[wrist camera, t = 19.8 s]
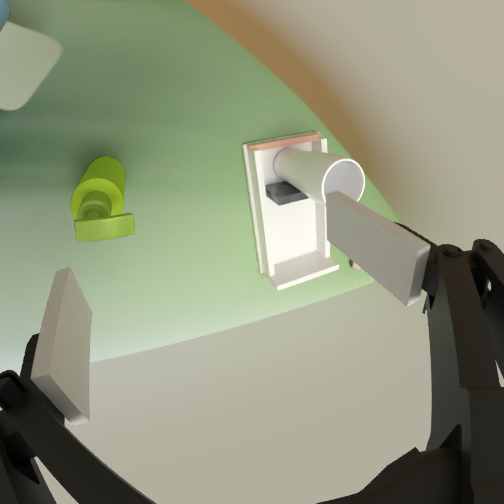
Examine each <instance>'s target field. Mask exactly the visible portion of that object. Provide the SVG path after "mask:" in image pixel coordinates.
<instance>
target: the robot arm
mask: <svg viewBox="0 0 504 504" xmlns="http://www.w3.org/2000/svg"><path fill="white" fill-rule="evenodd" d="M9 15H10V2H9V0H0V31H1V30H2V28H3V26H4V25H5V23H6V21H7V20H8V18H9ZM326 223H327V240H328V241H329V242H330V243H331V244H333V245H334V246H335V247H336V248H338V249H339V250H340V251H341V252H343V253H344V254H345V255H346V256H347V257H349V258H350V259H351V260H352V261H354V262H355V263H356V264H357V265H358V266H360V267H361V268H362V269H363V270H364V271H366V272H367V273H368V274H369V275H370V276H372V277H373V278H374V279H375V280H376V281H378V282H379V283H380V284H381V285H382V286H383V287H385V288H386V289H387V290H388V291H389V292H391V293H392V294H393V295H394V296H395V297H397V299H399V300H400V301H401V302H402V303H403V304H404V305H405V306H407V307H408V306H409V305H411V304H413V303H415V302H417V301H419V299H420V294H421V290H422V289H423V290H424V291H426V292H427V296H426V300H425V304H424V308H423V313H424V314H425V310H426V309H427V316H428V326H429V338H430V354H431V376H432V418H431V434H430V437H429V441H428V443H427V447H426V451H422V452H419V451H418V449H417V448H416V447H415V448H413V449H412V450H411V451H409V452H408V453H406V454H405V455H403V456H402V457H400V458H399V459H397V460H396V461H394V462H392V463H391V464H389V465H388V466H387V467H386V468H384V469H383V471H381V473H379V475H378V476H376V478H374V479H373V480H372V481H371V482H370V483H369V484H368V485H367V486H366V487H365V488H364V489H363V490H361V491H360V492H358V493H356V494H352V495H349V496H345V497H341V498H337V499H333V500H329V501H325V502H321V503H317V504H504V387H501V386H500V383H499V377H498V372H497V366H496V362H497V364H498V367H499V369H500V371H501V374H502V376H503V378H504V254H503V253H502V251H501V250H500V249H499V248H498V247H497V246H496V245H495V244H494V243H492V242H490V241H489V240H486V239H477V240H475V241H474V243H473V247H472V250H470V251H462V250H461V249H460V248H459V247H456V246H454V245H450V244H442V245H440V246H437V245H436V244H434V243H432V242H431V241H429V240H428V239H426V238H424V237H423V236H421V235H418V233H416V232H415V231H412V230H411V229H409V228H408V227H406V226H405V225H402V224H399V223H396V222H392V221H390V220H389V219H387V218H385V217H384V216H382V215H380V214H379V213H377V212H375V211H373V210H372V209H370V208H368V207H366V206H365V205H363V204H361V203H359V202H357V201H356V200H354V199H352V198H350V197H348V196H346V195H345V194H343V193H341V192H339V191H335V192H331V193H327V194H326ZM489 281H490V283H491V290H489V289H488V283H489ZM91 319H92V311H91V309H90V307H89V305H88V303H87V301H86V299H85V297H84V295H83V293H82V291H81V289H80V287H79V285H78V283H77V281H76V279H75V276H74V274H73V272H72V270H71V267H68V268H65V269H62V270H59V271H57V272H56V275H55V278H54V281H53V285H52V288H51V292H50V295H49V299H48V302H47V306H46V309H45V313H44V317H43V321H42V325H41V329H40V333H38V334H35V335H32V337H31V339H30V340H29V342H28V344H27V346H26V350H25V356H24V359H23V364H22V368H21V373H20V377H19V376H18V374H17V373H16V372H14V371H13V370H7V371H4V372H2V373H0V407H1V408H2V409H3V410H1V411H0V504H56V501H55V500H54V498H53V496H52V494H51V492H50V490H49V488H48V486H47V484H46V482H45V480H44V478H43V476H42V474H41V472H40V470H39V467H38V465H37V463H36V461H35V459H34V457H36V456H37V457H38V458H39V459H40V461H41V462H42V463H43V464H44V465H45V467H46V468H47V469H48V470H49V471H50V473H51V474H52V475H53V476H54V477H55V478H56V480H58V482H59V483H60V484H61V485H62V486H63V487H64V488H65V489H66V491H67V492H68V493H69V494H70V495H71V496H72V497H73V498H74V499H75V500H76V501H77V502H78V503H79V504H156V503H155V502H153V501H152V500H151V499H149V498H148V497H146V496H145V495H144V494H142V493H141V492H139V491H138V490H137V489H136V488H134V487H133V486H132V485H130V484H129V483H128V482H126V481H125V480H124V479H123V478H121V477H120V476H119V475H118V474H116V473H115V472H114V471H113V470H112V469H110V468H109V467H108V466H107V465H106V464H104V463H103V462H102V461H101V460H100V459H99V458H98V457H96V456H95V455H94V454H93V453H92V452H91V451H90V450H89V449H87V447H85V446H84V445H83V444H82V443H81V442H80V441H79V440H78V439H77V438H76V437H75V436H74V435H73V434H72V433H71V432H70V431H69V430H68V429H67V428H66V427H65V426H64V421H65V420H64V419H65V418H66V419H67V420H68V421H69V422H70V423H71V424H72V425H76V424H82V423H87V422H90V413H89V412H90V411H89V357H90V334H91ZM495 360H496V361H495Z"/></svg>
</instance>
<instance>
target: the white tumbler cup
mask: <svg viewBox="0 0 504 504" xmlns="http://www.w3.org/2000/svg"><path fill="white" fill-rule="evenodd" d="M274 169H275V172H276V174H277V175H278V177H279V178H281V179H282V180H284V181H286V182H288V183H289V184H291V185H292V186H294V187H295V188H297V189H298V190H299V191H301V192H302V193H304V194H305V195H306V196H308V197H309V198H311V199H312V200H314V201H316V202H317V203H319V204H321V205H323V206H325V207H326V194H327V193H331V192H335V191H339V192H341V193H343V194H345V195H346V196H348V197H350V198H352V199H354V200H356V201H357V202H358V201H359V199H360V198H361V196H362V193H363V191H364V186H365V177H364V173H363V170H362V168H361V166H360V165H359V164H358V163H357V162H356V161H354V160H352V159H349V158H346V157H344V156H340V155H337V154H332V153H327V152H318V151H308V150H299V149H295V148H287V149H284V150H282V151H281V152H280V153H279V154H278V155H277V156H276V158H275V161H274Z"/></svg>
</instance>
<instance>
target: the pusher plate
mask: <svg viewBox="0 0 504 504" xmlns="http://www.w3.org/2000/svg"><path fill="white" fill-rule="evenodd" d="M265 189H266V196H267V197H268V198H270V199H271V200H272V201H273V202H275V203H276V204H277V205H279V206H281V205H284V204H288V203H292V202H296V201H300V200H304V199H308V198H309V197H308V196H306V195H305V194H304V193H302V192H301V191H299V190H298V189H297V188H295V187H294V186H292V185H291V184H289V183H288V182H286V181H283V182H278V183H274V184H270V185H266V186H265Z"/></svg>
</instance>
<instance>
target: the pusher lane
mask: <svg viewBox="0 0 504 504" xmlns="http://www.w3.org/2000/svg"><path fill="white" fill-rule="evenodd" d="M287 148H295V149H299V150H308V151H318V152H327V138H323V137H321V134H320V133H319V132H310V133H303V134H297V135H291V136H285V137H279V138H273V139H268V140H262V141H257V142H252V143H247V144H242V151H243V158H244V165H245V172H246V179H247V186H248V193H249V200H250V207H251V214H252V222H253V229H254V236H255V243H256V250H257V257H258V265H259V271H260V273H264V274H265V275H266V276H267V278H268V279H269V280H270V282H271V283H272V284H273V286H274V287H275V288H276V290H277V291H279V290H282V289H285V288H287V287H290V286H293V285H296V284H299V283H302V282H304V281H307V280H310V279H313V278H316V277H318V276H321V275H324V274H327V273H329V272H332V271H335V270H337V269H339V264H338V263H337V262H336V261H335V260H334V259H332V258H331V257H330V242H329V241H328V240H327V223H326V207H325V206H323V205H321V204H319V203H317V202H316V201H314V200H312V199H311V198H308V199H304V200H300V201H296V202H292V203H288V204H284V205H281V206H279V205H277V204H276V203H275V202H273V201H272V200H271V199H270V198H268V197H267V196H266V189H265V186H266V185H270V184H274V183H278V182H283V181H284V180H282V179H281V178H279V177H278V175H277V174H276V172H275V169H274V161H275V158H276V156H277V155H278V154H279V153H280V152H281V151H282V150H284V149H287Z"/></svg>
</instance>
